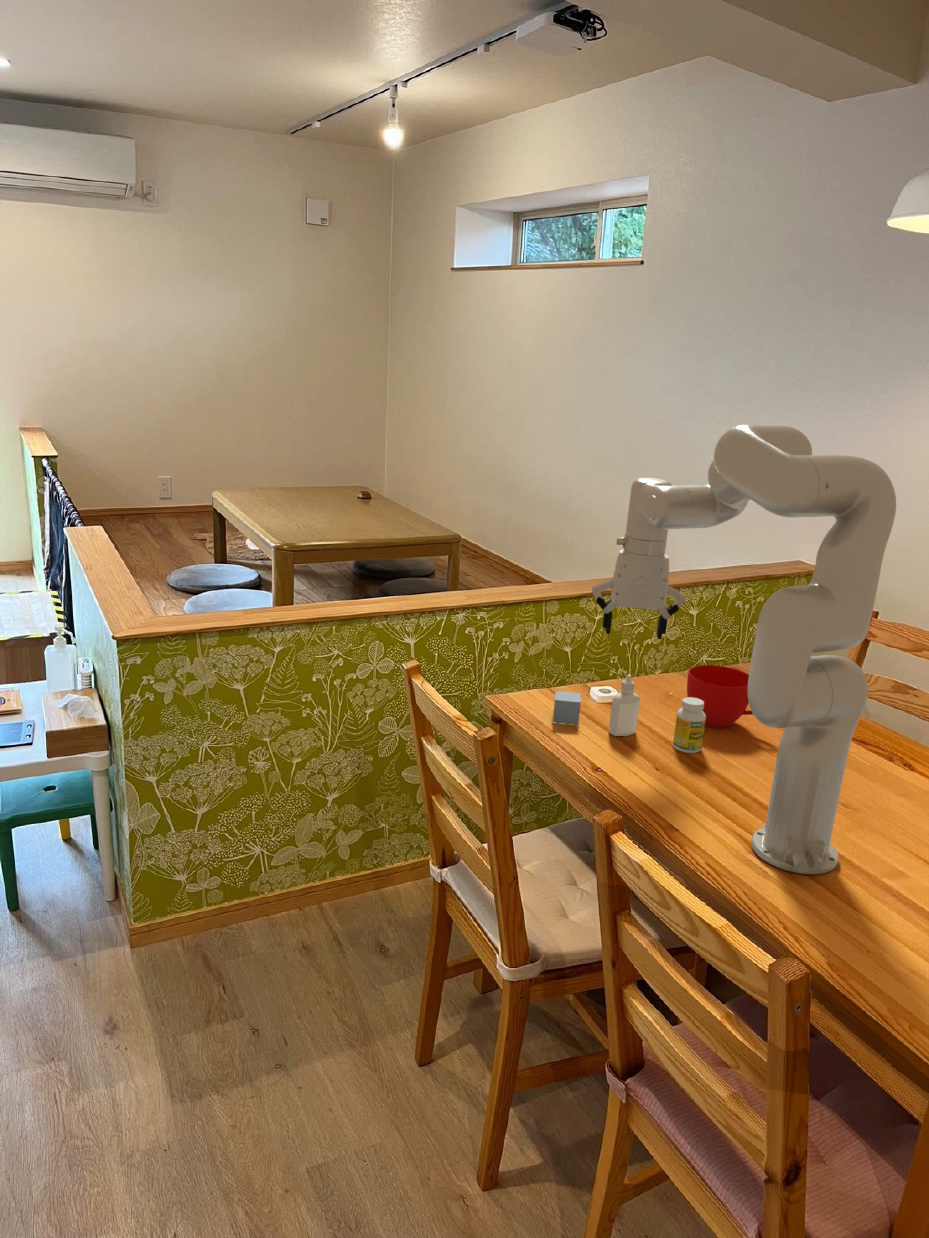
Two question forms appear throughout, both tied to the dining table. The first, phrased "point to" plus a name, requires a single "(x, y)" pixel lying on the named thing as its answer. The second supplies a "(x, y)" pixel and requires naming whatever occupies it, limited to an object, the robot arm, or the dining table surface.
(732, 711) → the ceramic cup
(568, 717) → the slate block
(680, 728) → the supplement bottle
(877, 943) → the dining table surface
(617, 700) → the eye dropper bottle
